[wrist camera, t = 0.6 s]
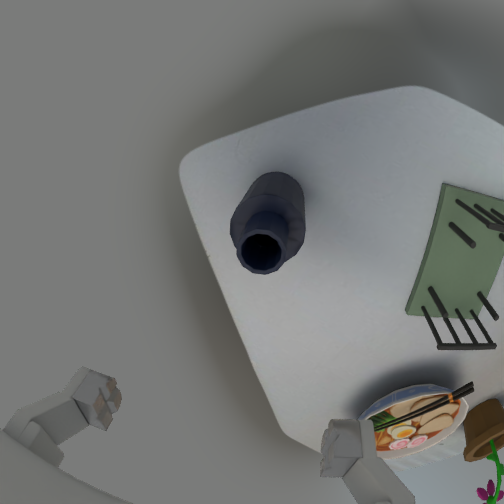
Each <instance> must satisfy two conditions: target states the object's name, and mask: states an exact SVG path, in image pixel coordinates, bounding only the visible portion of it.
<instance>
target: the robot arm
mask: <svg viewBox="0 0 504 504" xmlns="http://www.w3.org/2000/svg"><path fill="white" fill-rule="evenodd" d="M116 385H117V382H116V380H115V378H113V377H110V376H107V375H104V374H101V373H98V372H96V371H94V370H91V369H88V368H86V367H81V368H80V369H78V371H77V372H76V374H75V375H74V376H73V378H72V379H71V380H70V382H69V383H68V384H67V386H66V387H65V388H64V390H63V391H62V393H60V392H58V393H55V394H53V395H51V396H48V397H46V398H44V399H42V400H40V401H37V402H35V403H32V404H30V405H28V406H25V407H23V408H21V409H18V410H17V411H16V413H15V414H14V415H13V417H12V418H11V419H10V421H9V422H8V424H7V425H6V426H5V428H4V429H3V430H1V429H0V504H133V503H130V502H128V501H126V500H123V499H120V498H118V497H115V496H113V495H111V494H109V493H107V492H104V491H102V490H100V489H98V488H96V487H93V486H91V485H89V484H87V483H85V482H83V481H81V480H79V479H77V478H75V477H74V476H72V475H70V474H68V473H66V472H64V471H63V470H61V469H59V468H58V467H59V465H60V463H61V461H62V460H63V457H64V453H63V452H62V451H61V450H60V449H59V448H58V447H57V445H59V444H60V443H62V442H64V441H65V440H67V439H69V438H70V437H72V436H73V435H75V434H77V433H78V432H80V431H81V430H83V429H84V428H86V427H87V426H89V425H92V426H94V427H97V428H99V429H102V430H105V431H107V429H108V427H109V425H110V423H111V422H112V420H113V418H112V414H113V413H114V412H116V411H118V409H119V407H120V404H121V400H122V398H121V392H120V390H119V389H118V388H116ZM321 453H322V454H323V455H324V457H323V459H322V461H321V470H320V477H343V478H342V479H343V481H344V482H345V484H346V486H347V487H348V489H349V490H350V492H351V494H352V495H353V497H354V498H355V500H356V502H357V503H358V504H415V496H414V495H413V494H412V493H411V492H410V491H409V490H408V489H407V487H406V486H405V485H404V484H403V483H402V482H401V481H400V479H399V478H398V477H397V476H396V475H395V474H394V472H393V471H392V470H391V469H390V468H389V467H388V465H387V464H386V463H385V462H384V461H383V460H382V458H381V457H377V452H376V442H375V434H374V426H373V422H372V420H353V419H331V420H330V422H329V424H328V429H326V430H325V432H324V434H323V438H322V444H321Z"/></svg>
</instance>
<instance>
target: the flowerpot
mask: <svg viewBox="0 0 504 504" xmlns="http://www.w3.org/2000/svg"><path fill="white" fill-rule="evenodd" d="M463 424H464V431H465V438H466V447H465V449H464V453H463V455H464V459H465V461H469V462H472V461H476V460H480V459H483V458H485V457H486V458H487V459H489V460H493V461H495V463H496V466H497V479H498V480H497V481H498V482H497V487H496V492H495V487H494V483H493V481H492V480H489V482H488V484H487V491H486V490H485V489H483V488H477V494H478V496H479V497H480V498H481V499H482V500H487V503H483V504H496V501H499V500H500V499H502V498H503V495H504V492H503V491H500V485H501V475H504V466H503V464H500V462H499V458H498V455H497V451H498V450H499V449H501V448H502V447H504V408H503V407H502V405H501V403H500V402H499V401H498V400H497V399H490V400H487V401H485V402H483V403H481V404H479V405H477V406H476V407H475V408H473V409H472V410H471V411H469V413H468V414H467V415H466V418H465V419H464V421H463ZM487 492H488V493H487ZM494 492H495V495H494V496H493V494H494ZM488 494H489V497H488Z"/></svg>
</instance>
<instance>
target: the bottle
mask: <svg viewBox="0 0 504 504" xmlns="http://www.w3.org/2000/svg"><path fill="white" fill-rule="evenodd" d="M305 230H306V228H305V203H304V195H303V191H302V188H301V186H300V185H299V183H298V182H297V181H296V180H295V179H294V178H293V177H291V176H290V175H288V174H285V173H281V172H270V173H266V174H264V175H262V176H260V177H259V178H258V179H257V180H256V181H254V182H253V184H252V185H251V187H250V188H249V190H248V191H247V193H246V194H245V196H244V197H243V199H242V200H241V202H240V204H239V205H238V207H237V208H236V210H235V212H234V214H233V216H232V218H231V221H230V235H231V238H232V240H233V243H234V246H235V247H236V248H237V257H238V259H239V261H240V263H241V264H242V266H243V267H245V268H246V269H248V270H249V271H251V272H252V273H256V274H264V275H266V274H269V273H272V272H275V271H277V270H278V269H279V268H280V267H281V266H282V265H283V263H284V262H286V261H287V260H289V259H290V258H292V257H293V256H295V255H296V254H297V252H298V251H299V249H300V248H301V246H302V245H303V243H304V237H305Z"/></svg>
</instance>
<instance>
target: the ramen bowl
mask: <svg viewBox="0 0 504 504" xmlns="http://www.w3.org/2000/svg"><path fill="white" fill-rule="evenodd" d="M472 386H474V384H473V382H472V381H471V382H470V383H468V384H466V385H464V386H463V387H461V388H459V389H457V390H455V391H453V390H451V389H448V388H445V387H441V386H438V385H434V384H422V385H412V386H409V387H406V388H402V389H399V390H395V391H393V392H392V393H390V394H388V395H386V396H384V397H382V398H380V399H378V400H377V401H376V402H374V403H373V404H372V405H371V406H370V407H369V408H368V409H366V410H365V411H364V412H363V413H362V414H361V416H360V417H359V418H358V420H372V422H373V426H374V434H375V442H376V452H377V457H381V458H382V460H385V459H394V458H401V457H404V456H408V455H412V454H415V453H418V452H421V451H423V450H425V449H427V448H429V447H431V446H433V445H435V444H437V443H439V442H441V441H442V440H443V439H445V438H446V437H448V436H449V435H450V434H452V433H453V432H454V431H455V430H456V429H457V428H458V427H459V425H460V424H461V423H462V422H463V420H464V419H465V418H466V414H467V410H468V407H469V405H468V404H467V402H466V401H465V399H464V398H463V397H464V396H466V395H468V394H470V393H472V392H474V388H473V387H472ZM467 389H468V390H467ZM465 390H466V391H465ZM463 391H464V392H463ZM461 392H462V393H461ZM459 393H460V394H459Z"/></svg>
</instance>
